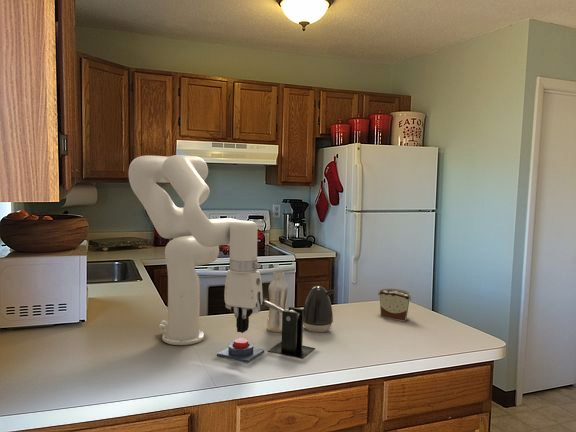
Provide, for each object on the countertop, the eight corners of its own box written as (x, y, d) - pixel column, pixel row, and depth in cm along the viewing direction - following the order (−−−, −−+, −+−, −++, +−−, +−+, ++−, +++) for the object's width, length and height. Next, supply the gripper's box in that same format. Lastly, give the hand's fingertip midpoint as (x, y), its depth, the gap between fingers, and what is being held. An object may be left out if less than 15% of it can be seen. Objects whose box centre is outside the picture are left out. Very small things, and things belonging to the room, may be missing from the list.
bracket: (267, 354, 136) (268, 310, 135) (281, 345, 144) (282, 303, 143) (302, 362, 131) (304, 316, 130) (315, 352, 140) (316, 309, 138)
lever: (256, 306, 139) (258, 299, 138) (265, 302, 144) (267, 295, 143) (291, 324, 134) (294, 316, 134) (299, 319, 139) (302, 312, 139)
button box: (216, 359, 132) (216, 346, 131) (234, 349, 140) (234, 337, 139) (248, 366, 127) (248, 353, 127) (264, 355, 135) (264, 343, 135)
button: (231, 347, 132) (231, 341, 132) (238, 343, 136) (238, 337, 136) (243, 350, 131) (243, 344, 131) (250, 345, 134) (251, 339, 134)
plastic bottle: (276, 327, 160) (278, 269, 159) (291, 333, 155) (293, 272, 154) (262, 331, 156) (264, 271, 154) (276, 337, 151) (278, 274, 149)
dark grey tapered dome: (331, 337, 152) (333, 290, 151) (299, 334, 154) (300, 288, 153) (334, 328, 162) (336, 283, 161) (304, 325, 164) (305, 281, 163)
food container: (414, 318, 176) (416, 291, 175) (409, 322, 171) (410, 295, 170) (383, 312, 183) (384, 286, 182) (376, 316, 177) (378, 289, 177)
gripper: (273, 266, 131) (272, 331, 133) (227, 261, 138) (227, 323, 139) (260, 270, 125) (259, 339, 126) (212, 265, 131) (212, 330, 133)
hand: (242, 331), depth 133 cm, fingers closed
